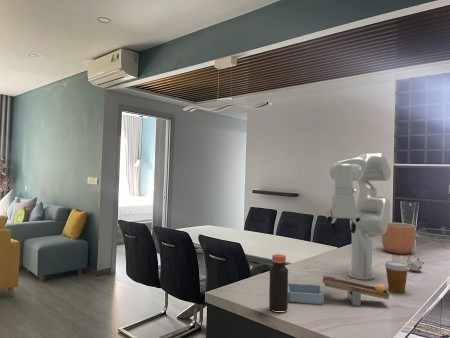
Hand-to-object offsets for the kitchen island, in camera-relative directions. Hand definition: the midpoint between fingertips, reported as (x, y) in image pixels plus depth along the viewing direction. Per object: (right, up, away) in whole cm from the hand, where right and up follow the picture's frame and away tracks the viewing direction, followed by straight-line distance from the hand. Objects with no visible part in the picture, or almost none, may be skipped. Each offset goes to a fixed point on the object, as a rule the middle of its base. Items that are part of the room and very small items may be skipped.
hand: (343, 232), depth 149 cm
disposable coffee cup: (+24, -26, +2) cm, 36 cm away
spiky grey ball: (+50, -28, +34) cm, 67 cm away
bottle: (-32, -25, -22) cm, 46 cm away
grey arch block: (0, -26, -13) cm, 28 cm away
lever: (0, -22, -10) cm, 24 cm away
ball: (+10, -20, -14) cm, 26 cm away
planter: (+65, -29, +82) cm, 108 cm away
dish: (-19, -25, -10) cm, 33 cm away
